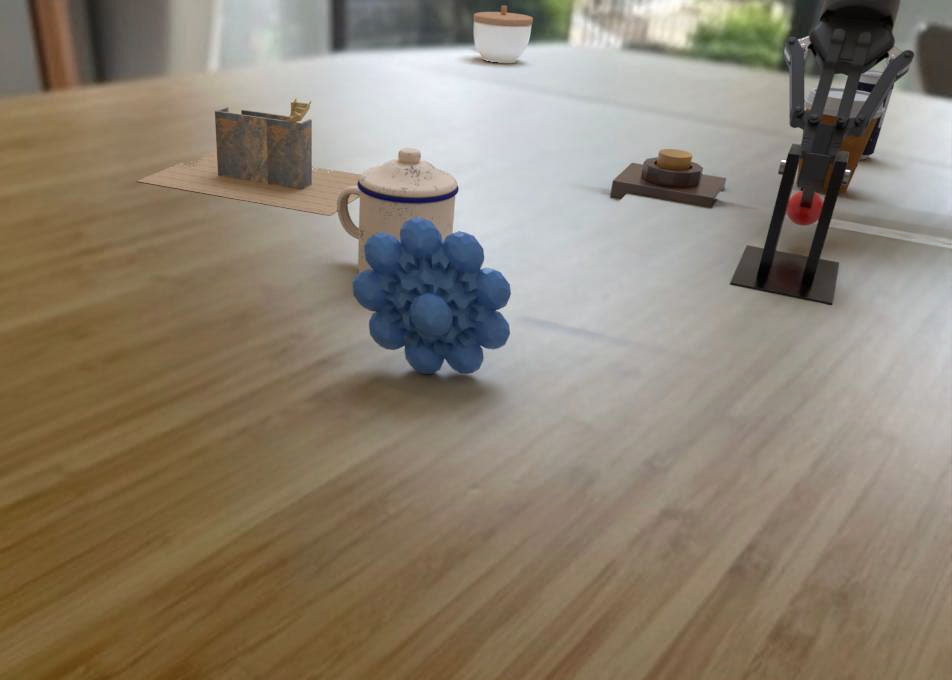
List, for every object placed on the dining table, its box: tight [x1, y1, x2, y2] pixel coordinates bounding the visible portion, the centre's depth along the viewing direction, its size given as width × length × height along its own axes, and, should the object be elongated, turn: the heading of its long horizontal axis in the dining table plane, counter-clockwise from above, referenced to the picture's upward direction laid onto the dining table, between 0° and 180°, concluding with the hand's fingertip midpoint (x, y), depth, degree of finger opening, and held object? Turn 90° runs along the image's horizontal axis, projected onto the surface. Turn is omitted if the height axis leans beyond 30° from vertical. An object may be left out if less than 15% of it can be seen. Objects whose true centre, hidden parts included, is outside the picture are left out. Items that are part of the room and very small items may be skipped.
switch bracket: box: [729, 143, 851, 306], centre depth 85 cm, size 12×9×13 cm
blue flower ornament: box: [352, 217, 512, 375], centre depth 64 cm, size 12×7×12 cm, turn 86°
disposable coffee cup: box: [795, 86, 885, 194], centre depth 117 cm, size 10×10×12 cm
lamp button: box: [656, 148, 693, 170], centre depth 110 cm, size 4×4×2 cm
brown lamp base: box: [609, 156, 727, 209], centre depth 111 cm, size 12×10×4 cm
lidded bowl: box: [472, 5, 534, 64], centre depth 194 cm, size 13×13×11 cm
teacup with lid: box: [336, 147, 460, 273], centre depth 83 cm, size 12×9×12 cm
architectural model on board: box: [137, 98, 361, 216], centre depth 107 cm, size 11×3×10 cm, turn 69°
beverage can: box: [857, 69, 895, 160], centre depth 134 cm, size 6×6×12 cm
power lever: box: [786, 153, 831, 227], centre depth 88 cm, size 14×4×4 cm
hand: (809, 185), depth 93 cm, fingers closed
